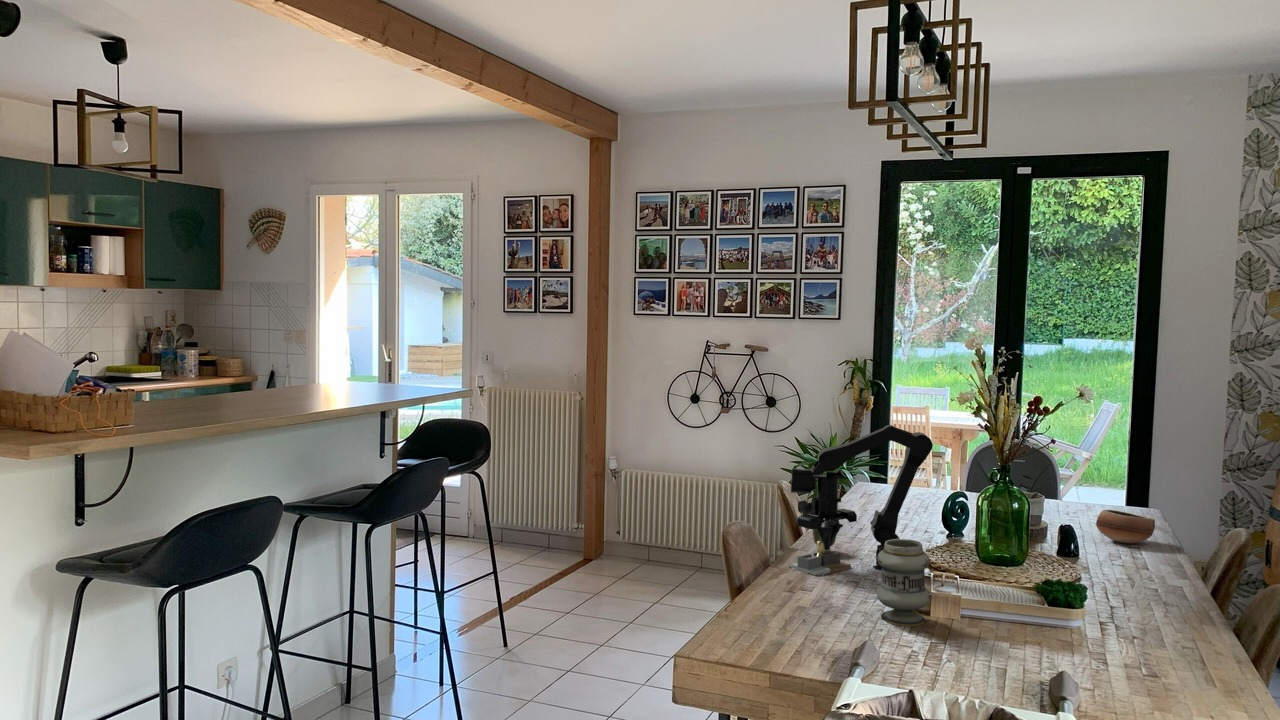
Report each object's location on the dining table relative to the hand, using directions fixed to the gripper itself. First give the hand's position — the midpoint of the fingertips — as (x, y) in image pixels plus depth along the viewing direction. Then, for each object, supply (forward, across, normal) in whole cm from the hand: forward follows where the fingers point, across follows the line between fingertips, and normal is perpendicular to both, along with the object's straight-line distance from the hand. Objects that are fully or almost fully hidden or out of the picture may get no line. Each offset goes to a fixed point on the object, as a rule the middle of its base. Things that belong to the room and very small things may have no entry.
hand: (826, 549), depth 266 cm
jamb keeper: (+5, +7, 0) cm, 8 cm away
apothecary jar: (+5, +20, +42) cm, 47 cm away
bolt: (+4, +5, 0) cm, 6 cm away
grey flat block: (+5, 0, 0) cm, 5 cm away
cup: (+5, -12, -12) cm, 18 cm away
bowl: (+5, -98, +34) cm, 104 cm away
